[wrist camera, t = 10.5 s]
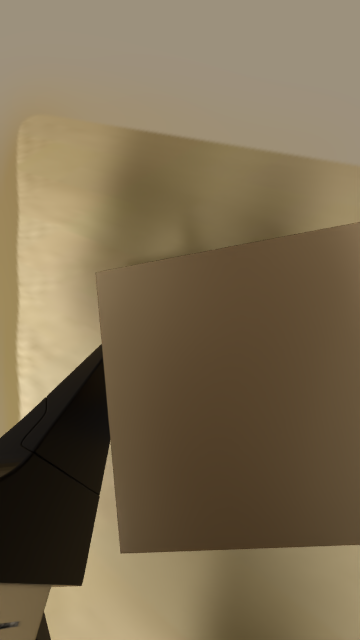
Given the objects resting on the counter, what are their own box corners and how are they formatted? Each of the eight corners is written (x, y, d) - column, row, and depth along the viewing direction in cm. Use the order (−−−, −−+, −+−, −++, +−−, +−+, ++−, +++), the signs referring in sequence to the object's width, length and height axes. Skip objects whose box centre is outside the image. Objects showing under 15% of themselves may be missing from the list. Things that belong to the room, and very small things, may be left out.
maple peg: (234, 323, 17) (362, 221, 3) (243, 374, 16) (452, 541, 2) (185, 330, 17) (95, 272, 3) (192, 380, 17) (120, 553, 3)
